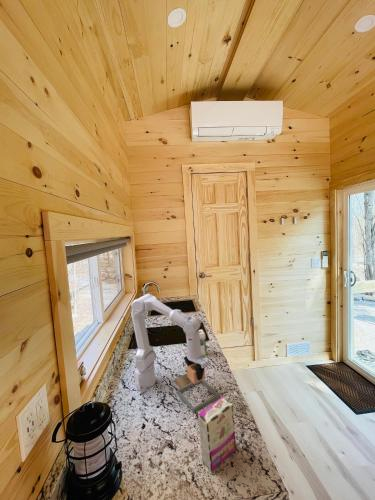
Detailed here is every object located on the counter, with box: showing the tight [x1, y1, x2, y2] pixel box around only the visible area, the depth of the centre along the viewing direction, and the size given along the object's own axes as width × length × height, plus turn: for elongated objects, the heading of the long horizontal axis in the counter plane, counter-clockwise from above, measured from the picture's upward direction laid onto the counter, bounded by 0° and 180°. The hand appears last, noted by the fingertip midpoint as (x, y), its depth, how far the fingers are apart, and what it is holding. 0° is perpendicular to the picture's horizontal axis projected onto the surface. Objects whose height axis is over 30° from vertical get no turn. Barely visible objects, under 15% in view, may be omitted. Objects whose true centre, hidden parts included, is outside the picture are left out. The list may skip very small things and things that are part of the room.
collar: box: [186, 363, 206, 384], centre depth 101 cm, size 7×6×5 cm
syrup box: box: [199, 329, 208, 357], centre depth 133 cm, size 6×6×14 cm
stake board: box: [172, 368, 192, 389], centre depth 112 cm, size 10×7×6 cm
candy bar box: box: [197, 396, 237, 472], centre depth 74 cm, size 11×5×16 cm, turn 126°
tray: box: [175, 379, 221, 413], centre depth 101 cm, size 14×14×2 cm
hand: (195, 375), depth 101 cm, fingers closed on collar, 5 cm apart
